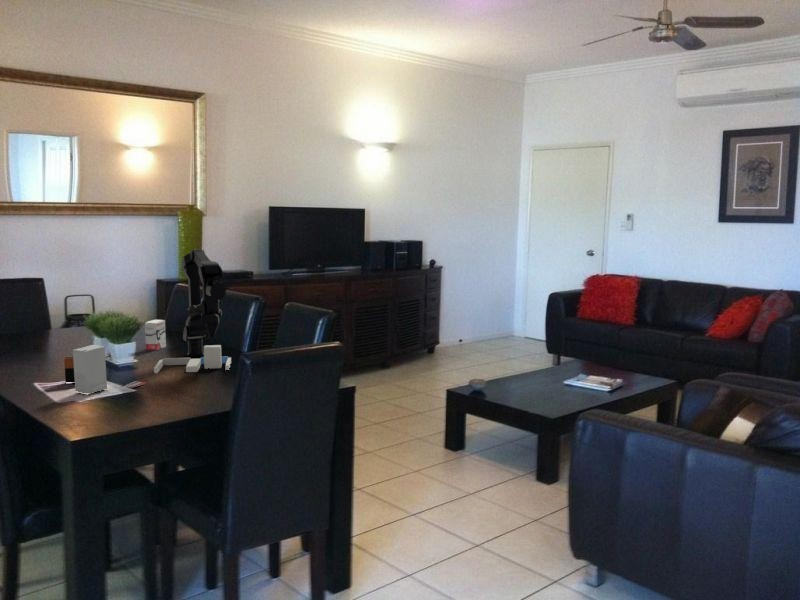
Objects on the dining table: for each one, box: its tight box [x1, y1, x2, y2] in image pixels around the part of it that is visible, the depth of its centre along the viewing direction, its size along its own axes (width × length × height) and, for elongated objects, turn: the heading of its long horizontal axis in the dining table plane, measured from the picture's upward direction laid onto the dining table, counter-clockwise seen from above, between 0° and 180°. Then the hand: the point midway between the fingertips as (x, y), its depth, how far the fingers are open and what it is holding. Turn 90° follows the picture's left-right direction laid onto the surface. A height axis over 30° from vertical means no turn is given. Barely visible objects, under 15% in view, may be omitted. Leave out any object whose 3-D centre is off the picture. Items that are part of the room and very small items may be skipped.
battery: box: [63, 353, 75, 383], centre depth 248 cm, size 4×7×10 cm, turn 110°
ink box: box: [144, 319, 167, 351], centre depth 307 cm, size 8×5×12 cm, turn 169°
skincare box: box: [72, 344, 108, 393], centre depth 235 cm, size 8×6×15 cm
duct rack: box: [153, 355, 232, 374], centre depth 271 cm, size 14×26×2 cm, turn 100°
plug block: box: [203, 344, 223, 370], centre depth 272 cm, size 4×6×8 cm, turn 100°
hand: (212, 338), depth 271 cm, fingers closed
